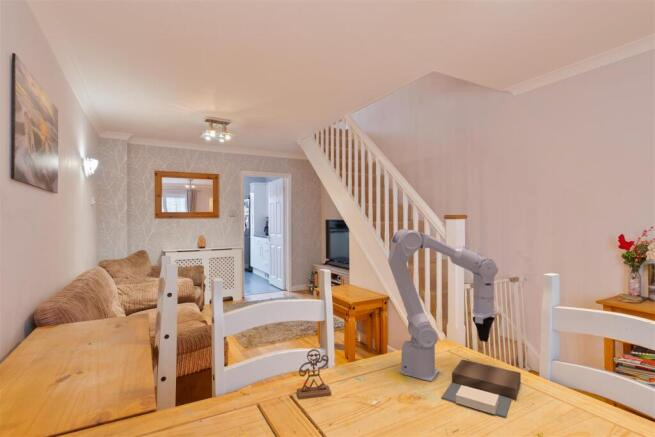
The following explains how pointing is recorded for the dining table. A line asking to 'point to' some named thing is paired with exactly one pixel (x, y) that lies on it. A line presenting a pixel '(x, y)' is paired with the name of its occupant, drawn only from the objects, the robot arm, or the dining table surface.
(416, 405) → the dining table surface
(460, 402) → the tile
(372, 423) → the dining table surface
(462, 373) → the block
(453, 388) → the mat
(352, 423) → the dining table surface
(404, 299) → the robot arm
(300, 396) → the gingerbread man figurine
